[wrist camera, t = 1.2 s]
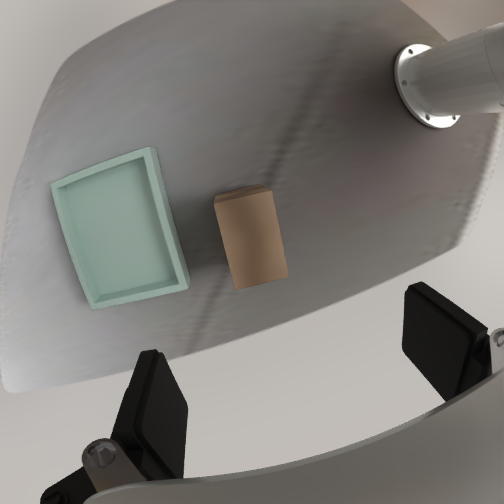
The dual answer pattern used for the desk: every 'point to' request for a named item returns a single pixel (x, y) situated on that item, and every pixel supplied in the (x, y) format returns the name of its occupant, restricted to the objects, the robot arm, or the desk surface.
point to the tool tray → (121, 230)
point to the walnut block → (251, 235)
